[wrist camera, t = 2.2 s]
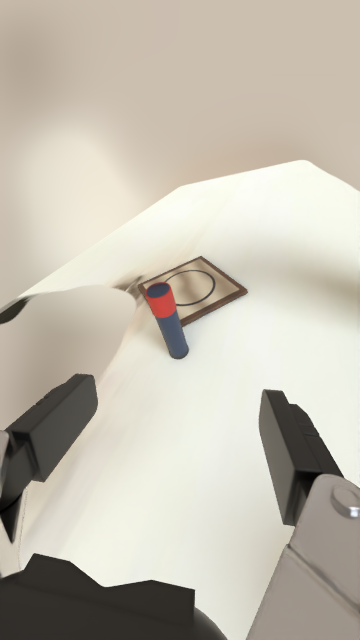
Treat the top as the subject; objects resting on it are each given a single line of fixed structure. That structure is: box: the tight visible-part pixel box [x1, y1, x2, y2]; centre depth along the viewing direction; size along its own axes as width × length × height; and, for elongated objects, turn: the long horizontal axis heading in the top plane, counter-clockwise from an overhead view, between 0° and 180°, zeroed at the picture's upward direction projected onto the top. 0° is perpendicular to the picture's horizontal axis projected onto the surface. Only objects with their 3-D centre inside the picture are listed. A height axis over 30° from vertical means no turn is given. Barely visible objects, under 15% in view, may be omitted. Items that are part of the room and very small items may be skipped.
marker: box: [145, 282, 189, 359], centre depth 28 cm, size 3×3×12 cm
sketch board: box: [138, 256, 247, 327], centre depth 41 cm, size 16×16×1 cm
